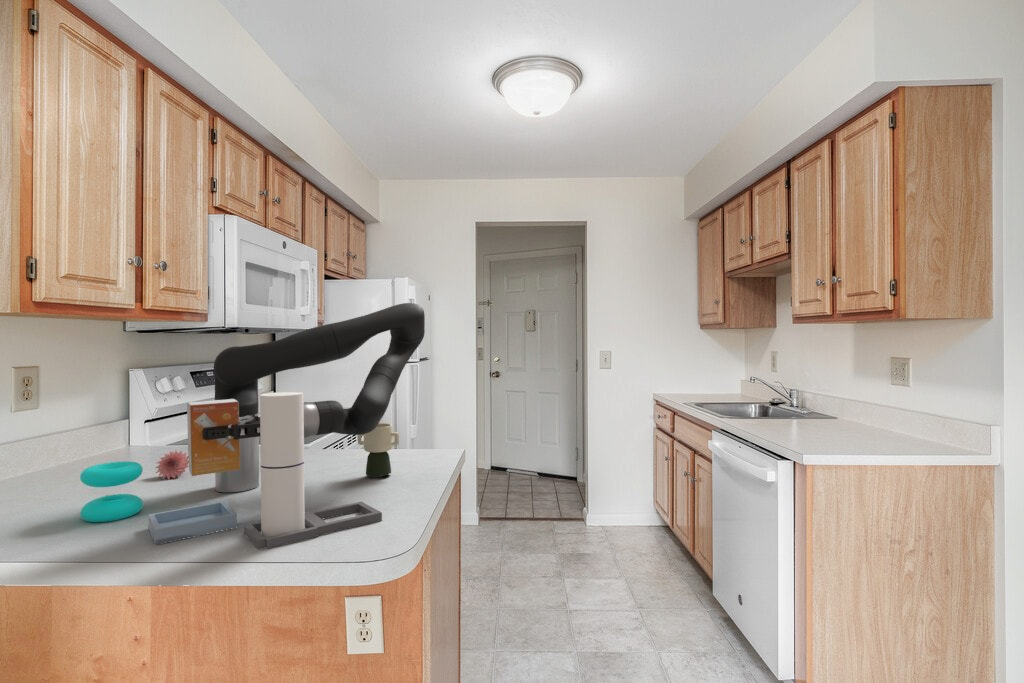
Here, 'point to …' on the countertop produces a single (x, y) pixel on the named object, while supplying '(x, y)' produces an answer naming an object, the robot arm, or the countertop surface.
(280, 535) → the holder
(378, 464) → the character mug
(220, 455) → the small box
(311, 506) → the countertop surface
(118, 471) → the donuts
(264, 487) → the cylindrical container
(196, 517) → the tray
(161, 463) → the flower
